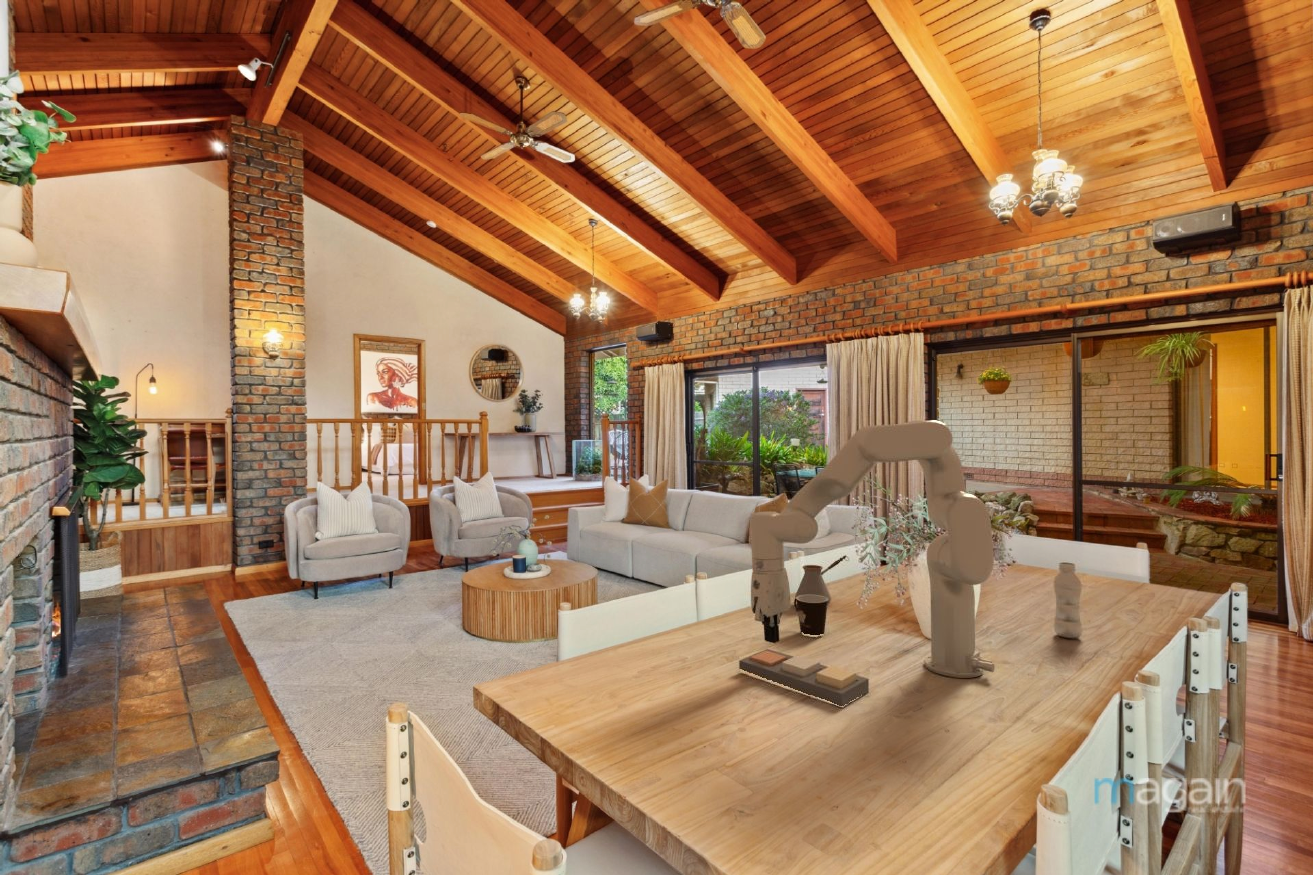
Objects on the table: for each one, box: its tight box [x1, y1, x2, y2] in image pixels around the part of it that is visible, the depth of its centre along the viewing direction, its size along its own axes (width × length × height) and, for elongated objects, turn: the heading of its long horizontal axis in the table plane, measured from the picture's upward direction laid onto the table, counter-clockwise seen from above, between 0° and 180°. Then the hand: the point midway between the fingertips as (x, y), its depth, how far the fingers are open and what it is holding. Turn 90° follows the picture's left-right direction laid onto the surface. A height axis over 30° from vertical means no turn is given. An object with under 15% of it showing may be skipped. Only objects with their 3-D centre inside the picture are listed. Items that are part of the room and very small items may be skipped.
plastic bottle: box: [1053, 561, 1083, 639], centre depth 169 cm, size 6×7×20 cm
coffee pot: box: [794, 555, 850, 606], centre depth 205 cm, size 21×12×15 cm, turn 119°
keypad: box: [738, 648, 870, 706], centre depth 141 cm, size 27×11×3 cm, turn 43°
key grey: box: [782, 655, 821, 677], centre depth 141 cm, size 6×6×2 cm
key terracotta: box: [751, 651, 787, 667], centre depth 148 cm, size 6×6×2 cm
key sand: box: [817, 665, 857, 689], centre depth 135 cm, size 6×6×2 cm
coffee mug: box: [793, 595, 828, 635], centre depth 176 cm, size 12×9×10 cm
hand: (772, 641), depth 148 cm, fingers closed
